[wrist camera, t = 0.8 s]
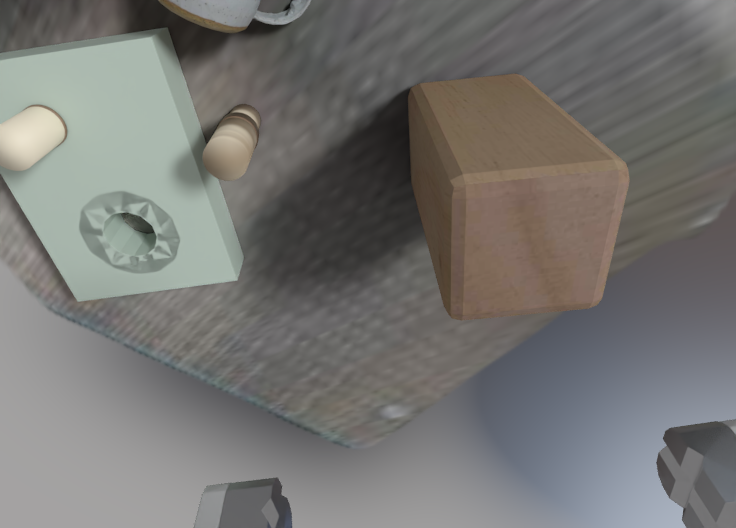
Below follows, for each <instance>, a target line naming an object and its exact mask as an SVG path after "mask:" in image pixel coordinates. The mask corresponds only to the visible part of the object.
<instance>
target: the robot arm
mask: <svg viewBox="0 0 736 528" xmlns="http://www.w3.org/2000/svg"><path fill="white" fill-rule="evenodd" d="M663 440H664V442H665V443H666V445H667V446H666V447H665V448H663V449H662V450H661V451H660V452H659V453H658V458H657V462H656V463H657V469H658V475H659V478H660V480H661V483H662V486H663V488H664V489H665V491H666V493H667V495H668V496H669V498H670V499H671V500H673V501H674V502H675V503H677V504H678V505H680V506H681V507H683V508H684V509H683V517H682V521H683V522H684V524H685V526H686V528H736V419H735V420H727V421H720V422H716V421H715V422H708V423H701V424H695V425H688V426H680V427H674V428H669V429H668V430H666V431H665V434H664V437H663ZM281 492H282V485H281V483H280V481H279V479H278V478H270V479H261V480H253V481H246V482H236V483H225V484H218V485H210V486H207V487H206V488H205V490H204V492H203V494H202V497H201V501H200V505H199V509H198V513H197V516H196V520H195V525H194V528H292V513H291V508H290V504H289V502H288V499H287V498H286V497H284V496H282V495H281Z"/></svg>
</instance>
